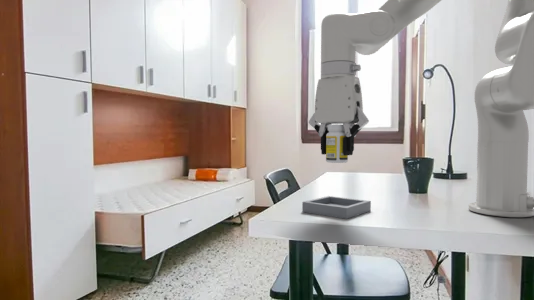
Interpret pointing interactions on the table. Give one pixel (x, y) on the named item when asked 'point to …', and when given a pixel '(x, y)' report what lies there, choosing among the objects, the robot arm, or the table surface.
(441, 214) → the table surface
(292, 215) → the table surface
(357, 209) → the tray
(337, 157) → the supplement bottle
